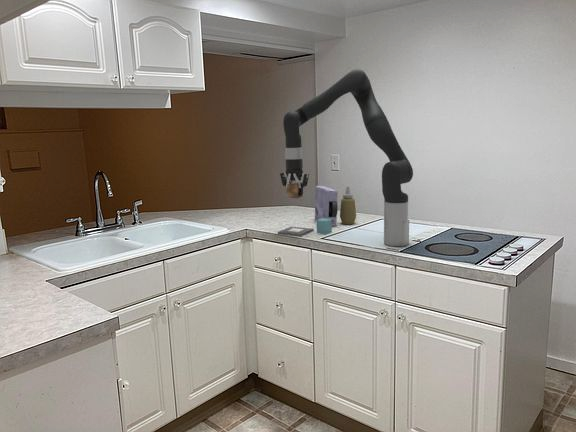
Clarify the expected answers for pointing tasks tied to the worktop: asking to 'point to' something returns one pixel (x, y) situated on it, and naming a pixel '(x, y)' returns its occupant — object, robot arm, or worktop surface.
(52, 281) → the worktop surface
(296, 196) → the walnut block
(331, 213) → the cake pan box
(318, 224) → the teal block
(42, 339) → the worktop surface
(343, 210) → the squeeze bottle
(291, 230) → the base board
